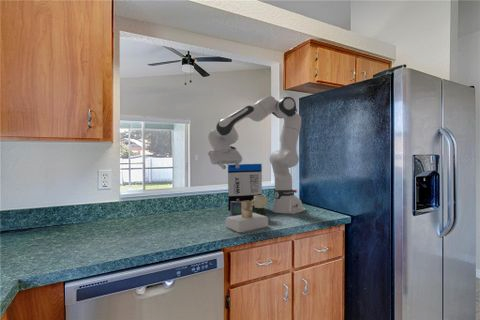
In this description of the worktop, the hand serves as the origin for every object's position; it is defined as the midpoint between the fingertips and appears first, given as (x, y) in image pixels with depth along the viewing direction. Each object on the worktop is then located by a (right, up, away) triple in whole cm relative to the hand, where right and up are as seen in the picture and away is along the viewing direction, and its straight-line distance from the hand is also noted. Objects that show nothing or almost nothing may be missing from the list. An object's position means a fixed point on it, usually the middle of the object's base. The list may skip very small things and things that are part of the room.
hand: (231, 168), depth 156 cm
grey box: (+9, -29, -18) cm, 35 cm away
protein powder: (+9, -28, +27) cm, 40 cm away
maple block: (+9, -24, -18) cm, 31 cm away
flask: (+4, -29, +3) cm, 30 cm away
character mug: (+17, -29, -1) cm, 33 cm away
